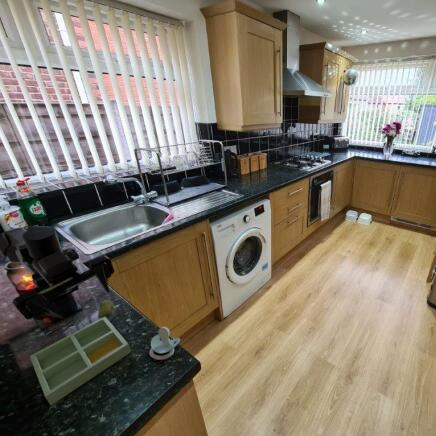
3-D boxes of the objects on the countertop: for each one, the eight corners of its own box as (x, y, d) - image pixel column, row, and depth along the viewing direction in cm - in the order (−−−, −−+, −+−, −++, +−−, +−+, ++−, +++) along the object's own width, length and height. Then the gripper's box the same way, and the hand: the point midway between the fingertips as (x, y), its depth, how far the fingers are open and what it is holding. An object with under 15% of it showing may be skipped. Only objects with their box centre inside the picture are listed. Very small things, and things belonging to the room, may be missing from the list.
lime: (101, 323, 70) (95, 309, 69) (96, 315, 73) (90, 302, 71) (118, 314, 74) (113, 301, 72) (113, 306, 76) (108, 294, 75)
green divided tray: (34, 364, 59) (29, 356, 58) (108, 324, 70) (104, 316, 69) (50, 405, 50) (45, 396, 49) (131, 352, 62) (128, 343, 60)
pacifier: (168, 364, 59) (184, 342, 64) (162, 346, 56) (179, 325, 61) (143, 357, 60) (161, 337, 66) (136, 339, 58) (155, 320, 63)
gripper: (-15, 269, 51) (17, 312, 46) (87, 229, 65) (121, 258, 60) (11, 300, 58) (42, 341, 53) (99, 257, 72) (130, 286, 66)
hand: (87, 303), depth 58 cm, fingers open, 9 cm apart
